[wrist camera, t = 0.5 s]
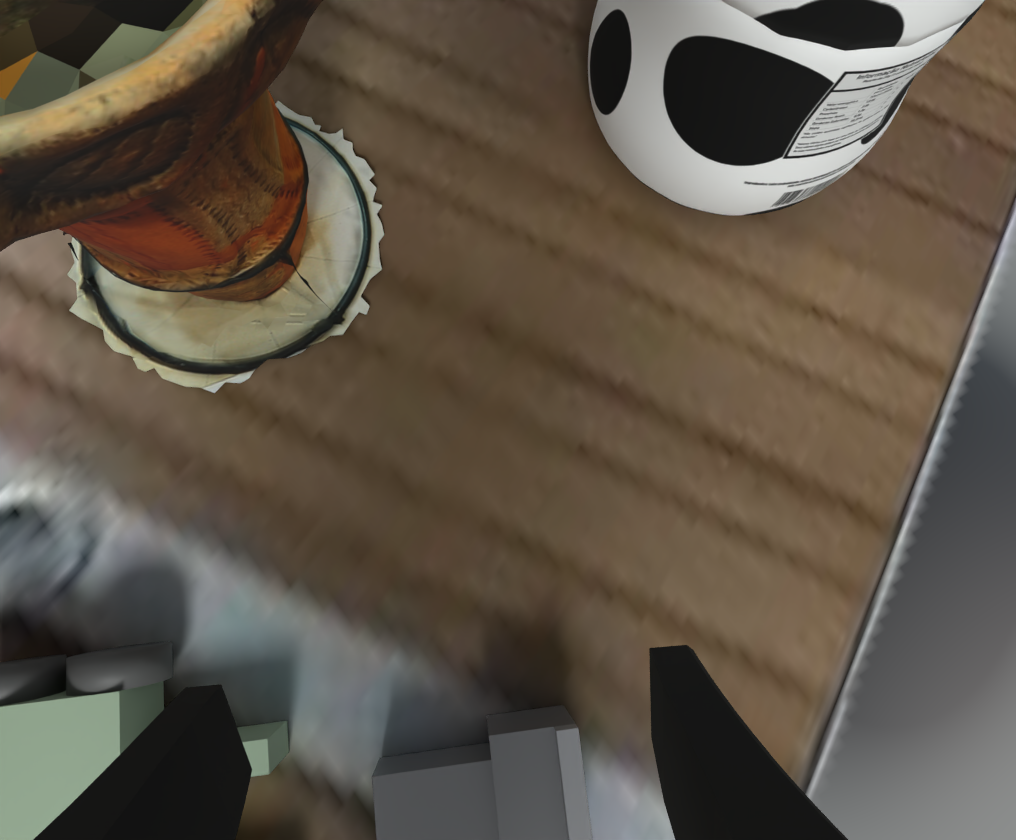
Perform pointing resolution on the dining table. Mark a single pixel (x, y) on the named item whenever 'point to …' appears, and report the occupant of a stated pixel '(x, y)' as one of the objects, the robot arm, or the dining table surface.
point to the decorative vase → (183, 180)
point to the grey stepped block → (490, 785)
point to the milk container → (756, 90)
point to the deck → (86, 727)
